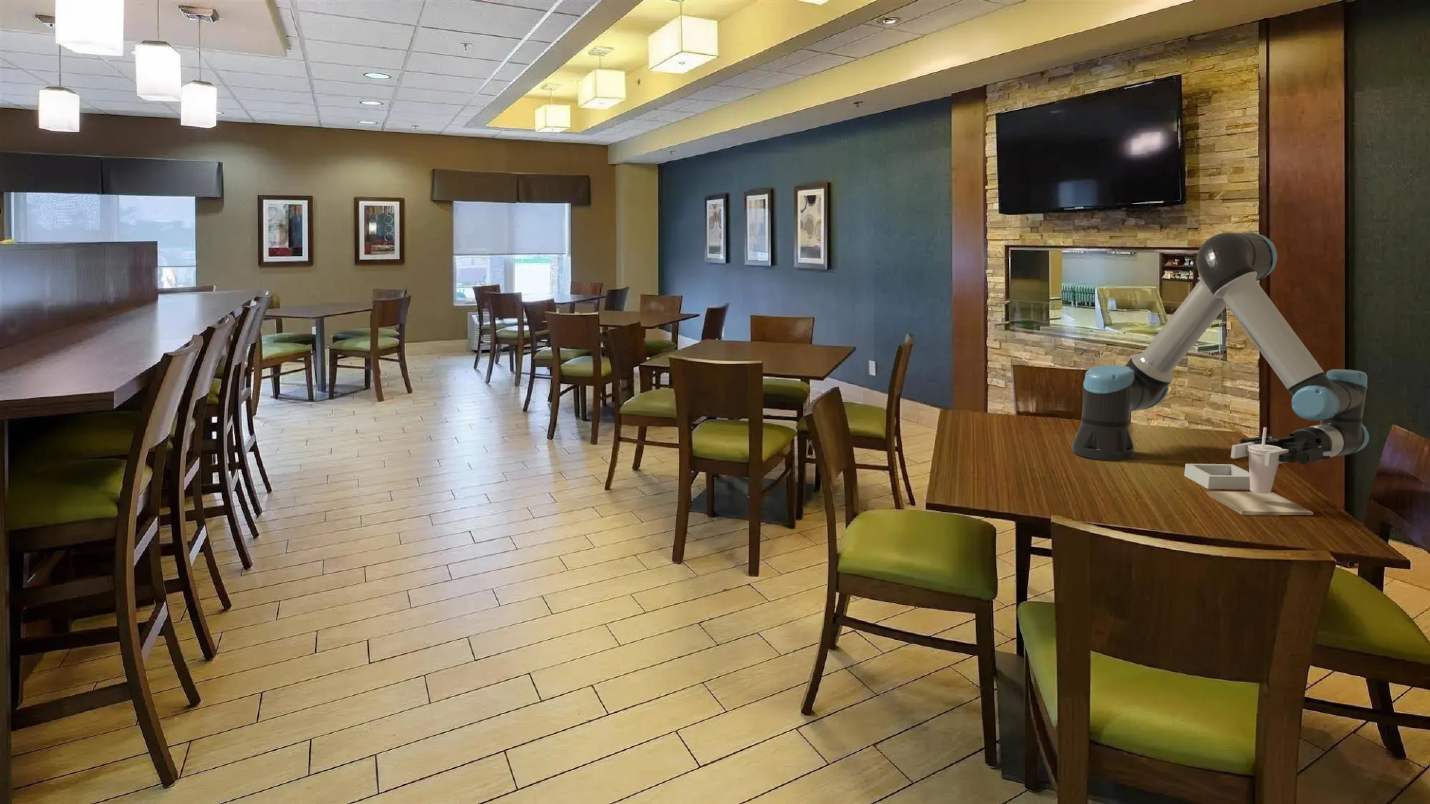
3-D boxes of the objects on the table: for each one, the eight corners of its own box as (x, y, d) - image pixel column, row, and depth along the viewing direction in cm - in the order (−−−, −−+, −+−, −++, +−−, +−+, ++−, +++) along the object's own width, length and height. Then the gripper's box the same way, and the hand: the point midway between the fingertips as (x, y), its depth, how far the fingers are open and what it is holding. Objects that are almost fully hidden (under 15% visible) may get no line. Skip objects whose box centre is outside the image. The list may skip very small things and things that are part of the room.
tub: (1207, 488, 187) (1209, 476, 186) (1184, 475, 197) (1185, 463, 197) (1257, 489, 186) (1259, 477, 185) (1231, 476, 197) (1232, 464, 196)
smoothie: (1235, 487, 177) (1242, 424, 175) (1263, 486, 178) (1270, 423, 175) (1257, 496, 171) (1264, 431, 168) (1285, 495, 171) (1293, 430, 169)
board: (1242, 514, 169) (1242, 511, 168) (1206, 494, 182) (1207, 491, 182) (1312, 516, 168) (1313, 512, 167) (1271, 495, 181) (1272, 492, 181)
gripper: (1360, 469, 173) (1296, 484, 163) (1266, 450, 190) (1203, 462, 180) (1365, 435, 171) (1301, 447, 161) (1270, 419, 188) (1207, 429, 178)
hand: (1249, 455), depth 171 cm, fingers closed on smoothie, 6 cm apart
